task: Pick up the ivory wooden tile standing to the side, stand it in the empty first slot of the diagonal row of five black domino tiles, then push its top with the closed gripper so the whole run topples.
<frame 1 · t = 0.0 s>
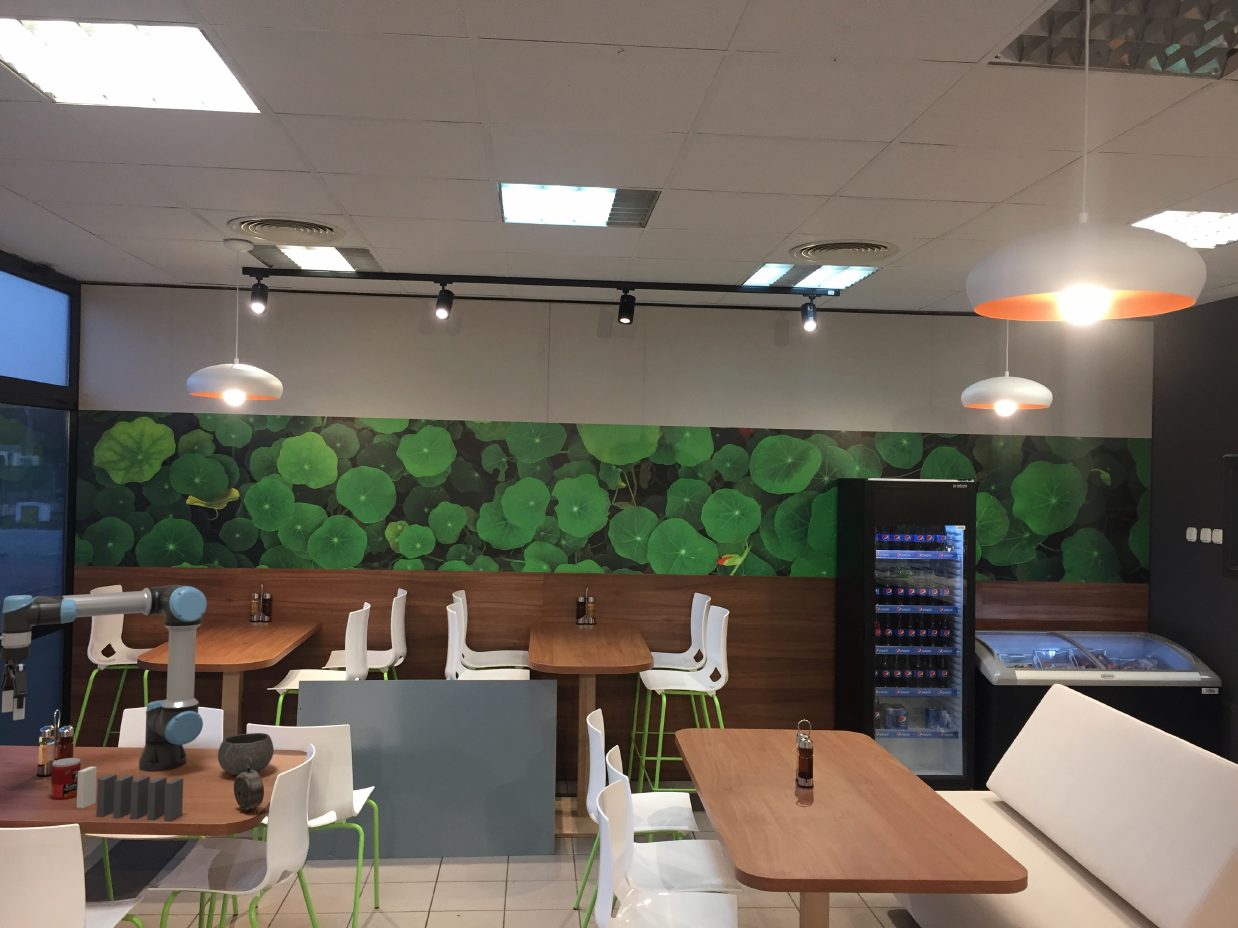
hand: (12, 715, 268), 28 cm above the table, fingers open, 13 cm apart
tile 2: (106, 813, 262), on the table
tile 3: (122, 814, 262), on the table
tile 4: (139, 815, 261), on the table
bowl: (245, 774, 302), on the table
canned food: (65, 796, 278), on the table
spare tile: (86, 804, 270), on the table
alarm clock: (247, 811, 266), on the table
tile 6: (173, 817, 259), on the table
tile 5: (156, 816, 260), on the table
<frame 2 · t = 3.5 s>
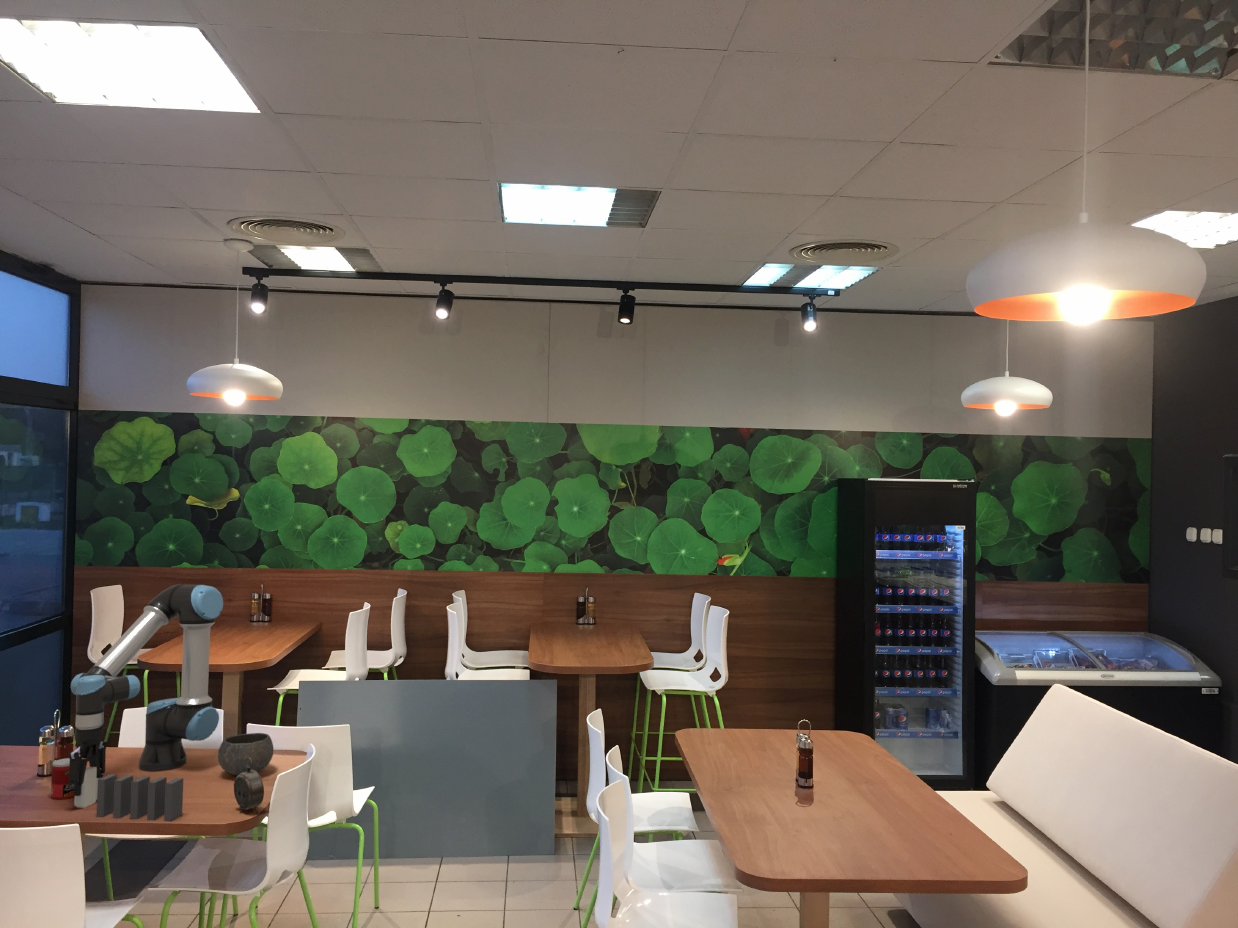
hand: (86, 802, 270), 1 cm above the table, fingers closed on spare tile, 5 cm apart
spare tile: (86, 804, 270), on the table, touching gripper
everything else where it was.
when the fingers open (2 cm above the table, at t = 8.7 s): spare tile stays where it is, on the table.
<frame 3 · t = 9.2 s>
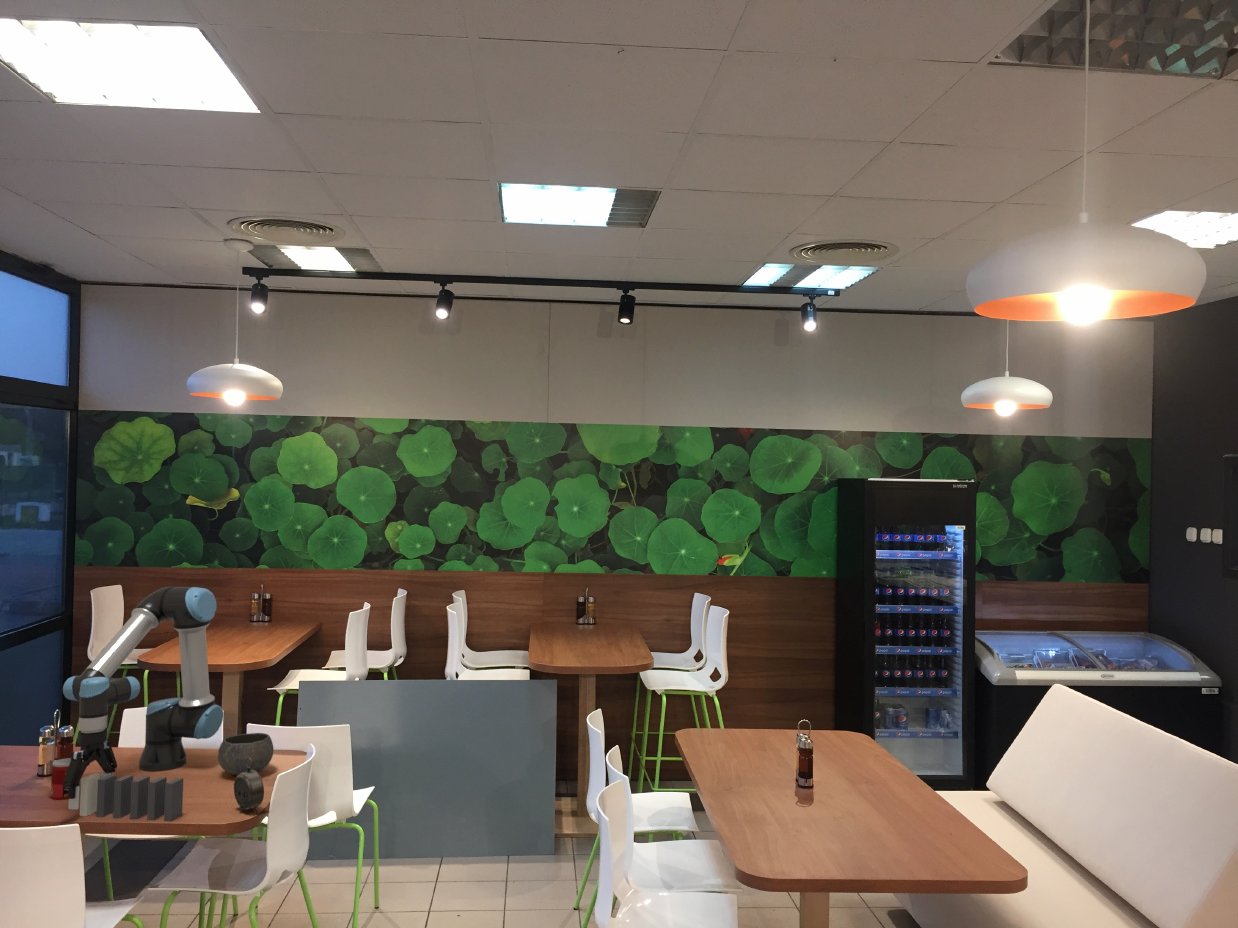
hand: (89, 801, 263), 3 cm above the table, fingers open, 12 cm apart
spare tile: (89, 812, 263), on the table
everything else where it was.
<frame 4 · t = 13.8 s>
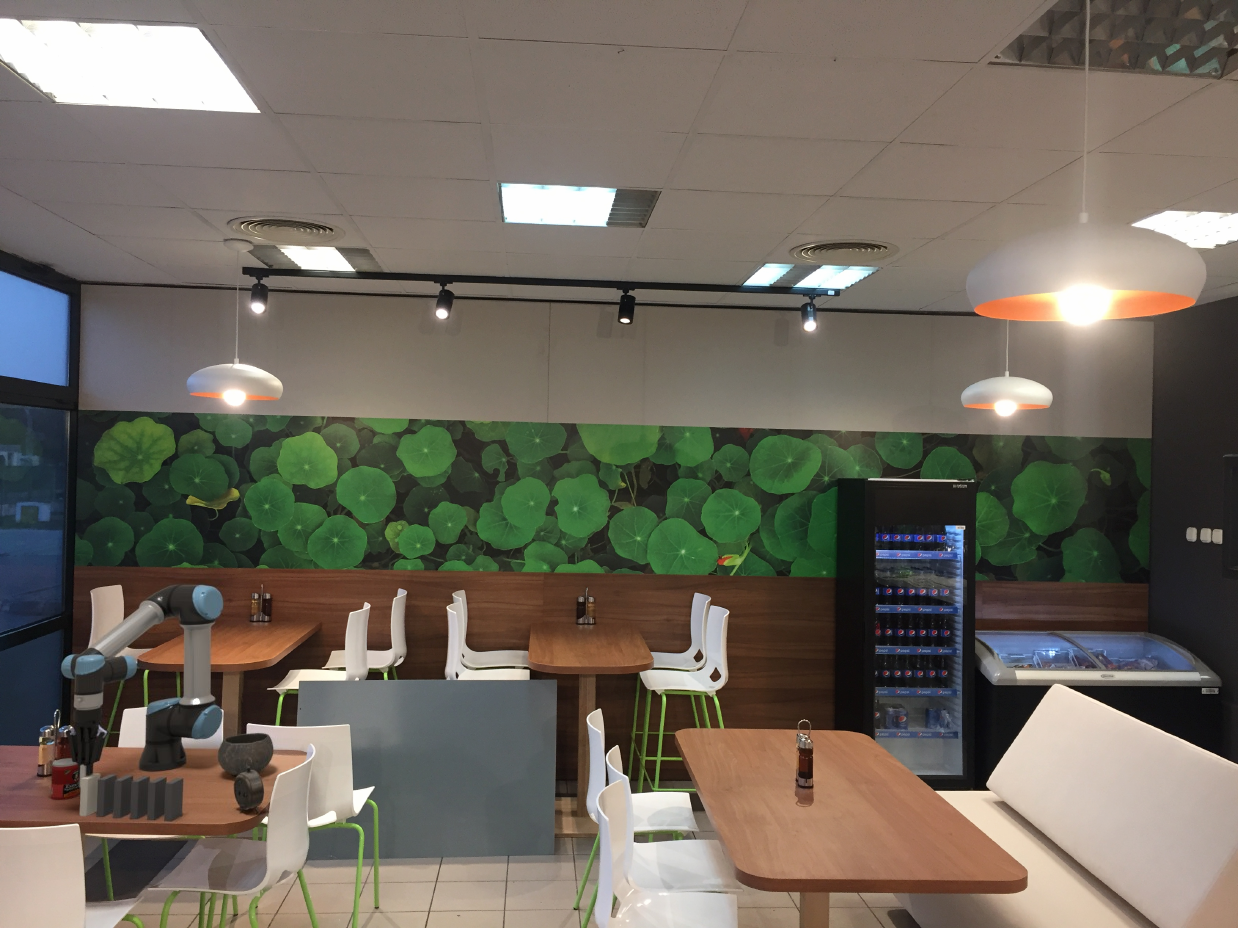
hand: (85, 785, 264), 8 cm above the table, fingers closed
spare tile: (89, 812, 263), on the table, touching gripper
everything else where it was.
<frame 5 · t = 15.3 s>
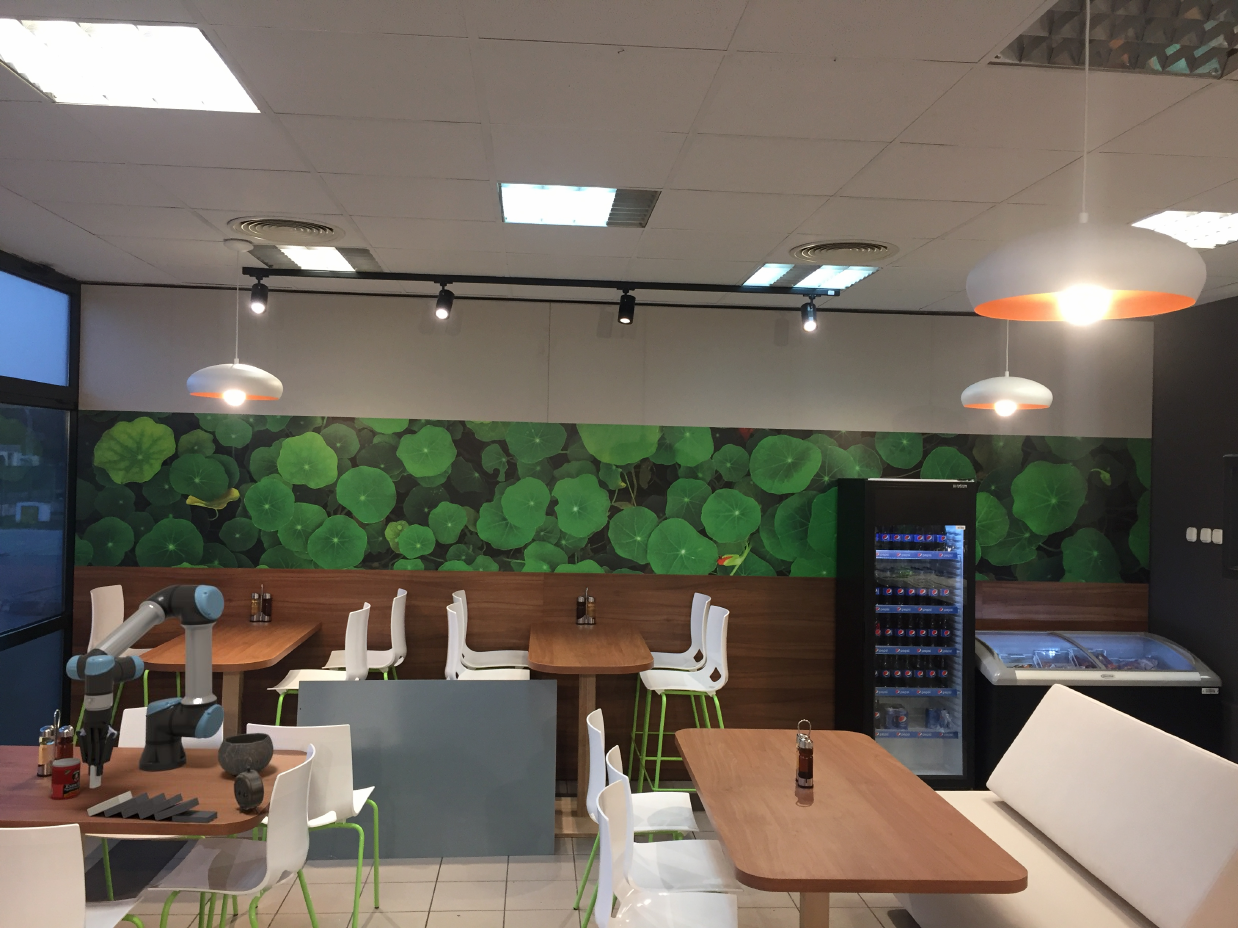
hand: (95, 786, 263), 8 cm above the table, fingers closed
tile 2: (110, 810, 262), point 1 cm above the table, tilted 67°, touching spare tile
tile 3: (128, 811, 261), point 1 cm above the table, tilted 66°
tile 4: (145, 812, 260), point 1 cm above the table, tilted 66°
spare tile: (94, 809, 263), point 1 cm above the table, tilted 67°, touching tile 2
tile 6: (177, 816, 259), point 1 cm above the table, tilted 90°, touching tile 5
tile 5: (160, 814, 260), point 1 cm above the table, tilted 70°, touching tile 6
everything else where it was.
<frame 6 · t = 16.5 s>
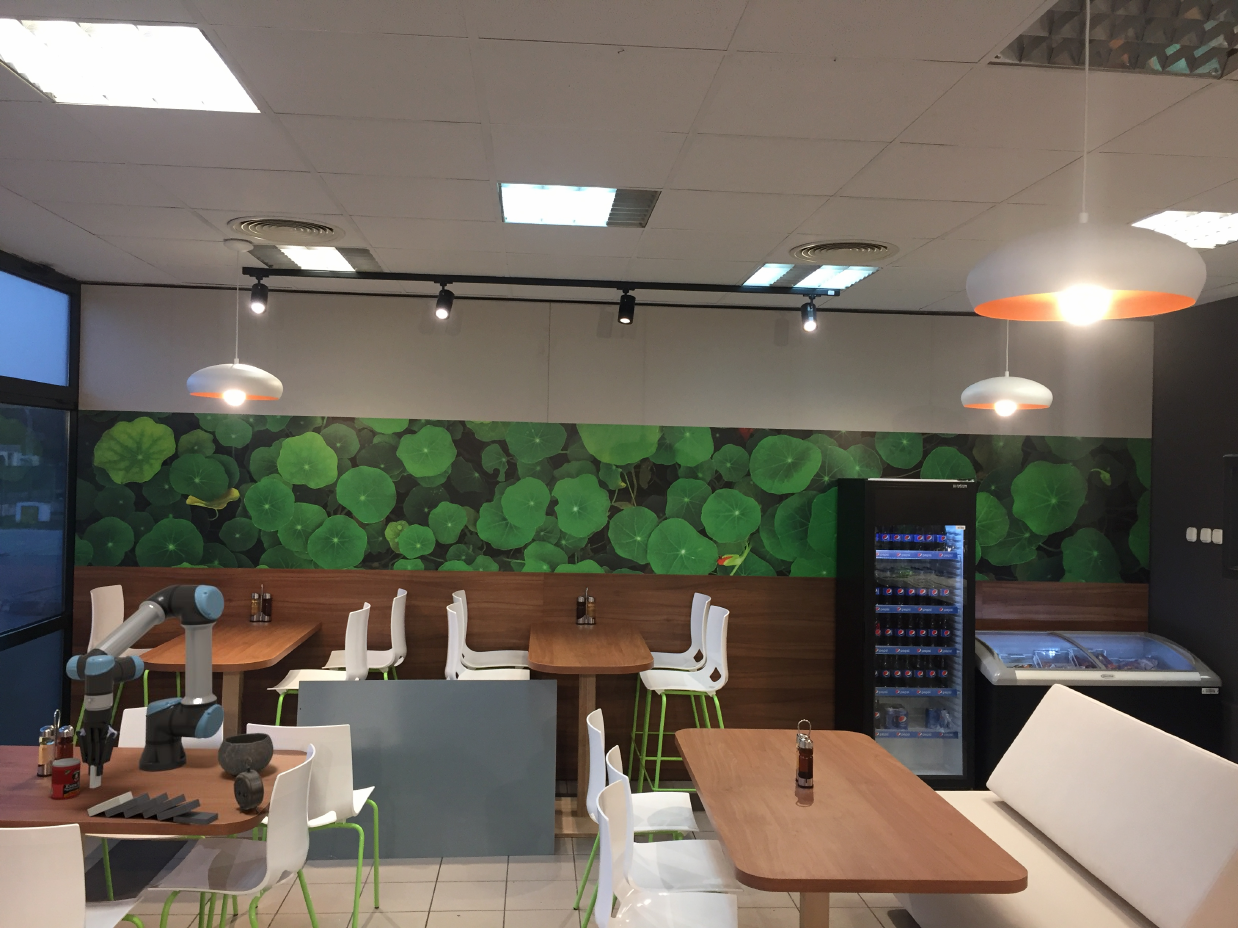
hand: (95, 786, 263), 8 cm above the table, fingers closed
tile 2: (111, 810, 262), point 1 cm above the table, tilted 67°, touching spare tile, tile 3
tile 3: (130, 811, 261), point 1 cm above the table, tilted 66°, touching tile 2, tile 4
tile 4: (150, 811, 261), point 1 cm above the table, tilted 66°, touching tile 3, tile 5
tile 6: (179, 816, 259), point 1 cm above the table, tilted 90°
tile 5: (164, 813, 260), point 1 cm above the table, tilted 70°, touching tile 4
everything else where it was.
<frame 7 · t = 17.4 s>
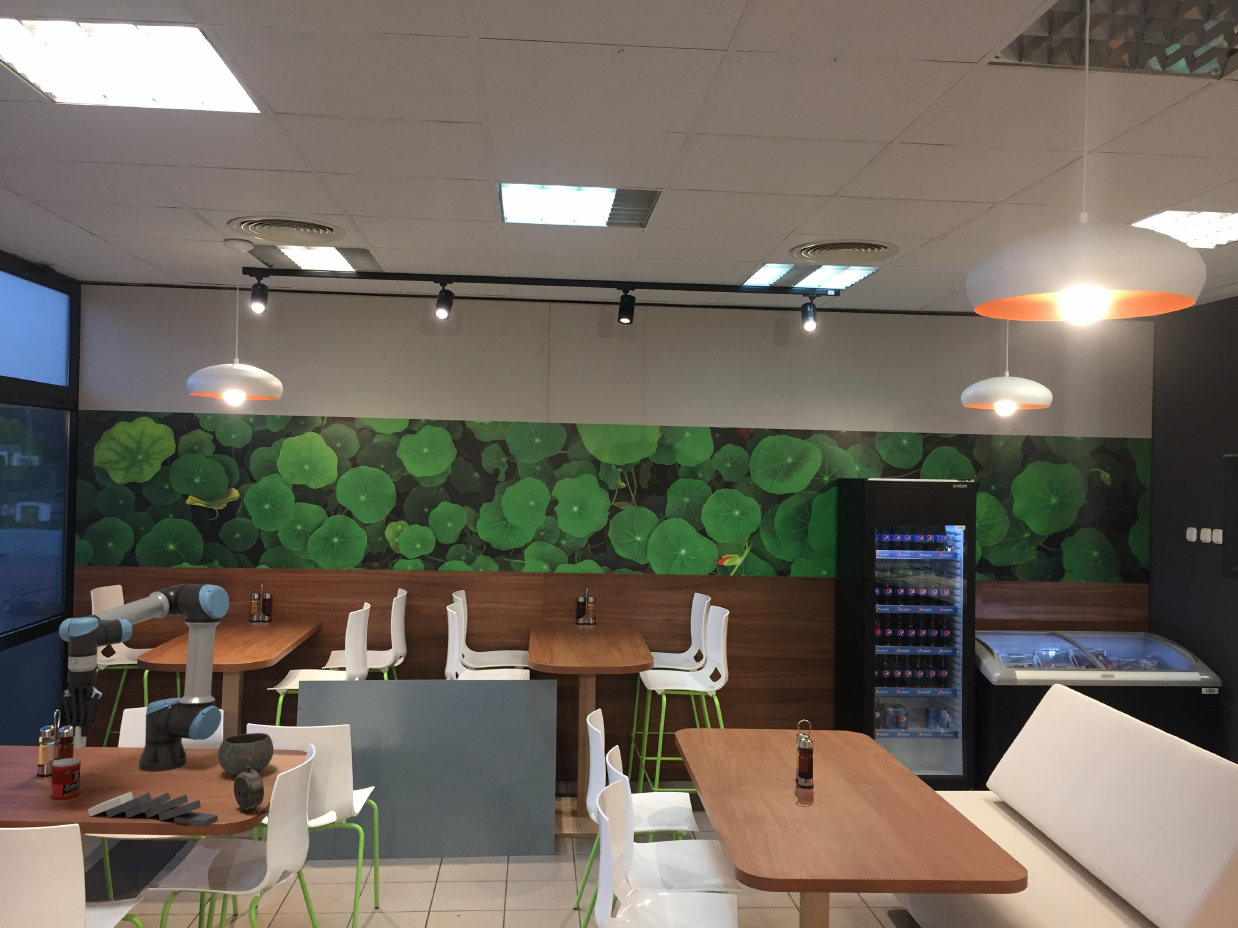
hand: (80, 746, 265), 19 cm above the table, fingers closed
tile 6: (180, 817, 258), point 1 cm above the table, tilted 90°, touching tile 5
tile 5: (166, 814, 259), point 1 cm above the table, tilted 70°, touching tile 4, tile 6
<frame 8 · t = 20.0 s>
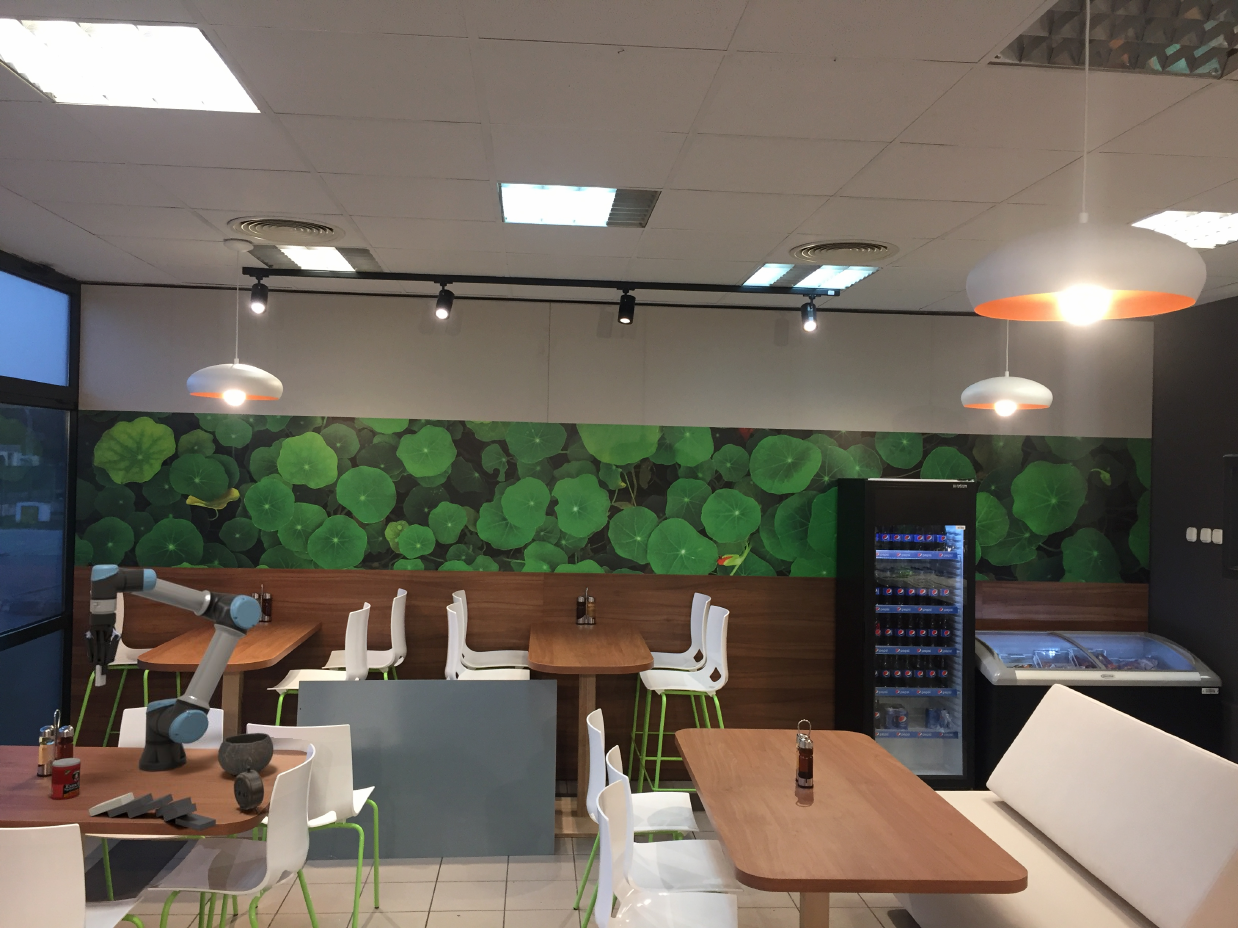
hand: (100, 684, 283), 34 cm above the table, fingers closed
tile 4: (164, 810, 262), point 1 cm above the table, tilted 66°, touching tile 3, tile 5
tile 6: (183, 819, 257), on the table, tilted 90°
tile 5: (172, 814, 259), point 1 cm above the table, tilted 68°, touching tile 4
at the end: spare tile inside the target area (2.1 cm from its centre), point 1.1 cm above the table; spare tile tilted 69°; tile 6 tilted 90° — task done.
